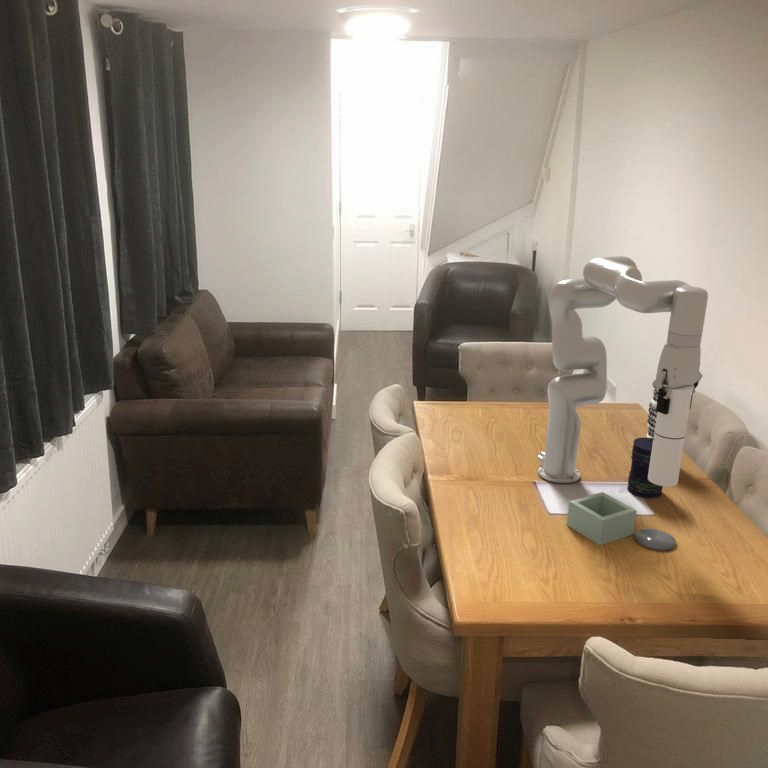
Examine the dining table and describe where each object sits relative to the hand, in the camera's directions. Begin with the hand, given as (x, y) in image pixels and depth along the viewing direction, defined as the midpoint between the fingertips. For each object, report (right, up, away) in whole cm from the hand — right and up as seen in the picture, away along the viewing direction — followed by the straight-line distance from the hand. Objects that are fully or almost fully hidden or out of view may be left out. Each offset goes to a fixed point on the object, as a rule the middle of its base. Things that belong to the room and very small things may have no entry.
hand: (673, 409), depth 190 cm
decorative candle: (+17, -19, +61) cm, 66 cm away
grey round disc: (-1, -34, +11) cm, 36 cm away
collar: (-14, -32, +16) cm, 38 cm away
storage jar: (+6, -25, +39) cm, 47 cm away
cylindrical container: (-1, -18, +6) cm, 19 cm away
